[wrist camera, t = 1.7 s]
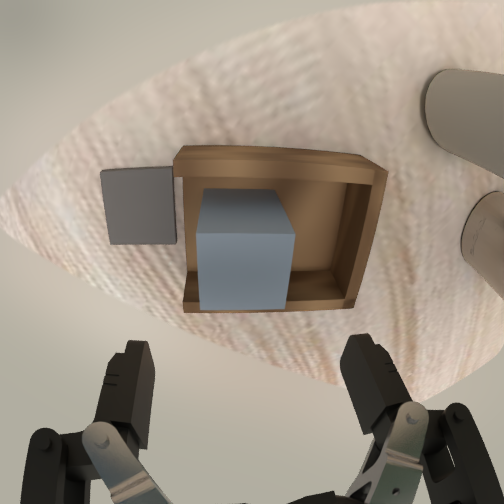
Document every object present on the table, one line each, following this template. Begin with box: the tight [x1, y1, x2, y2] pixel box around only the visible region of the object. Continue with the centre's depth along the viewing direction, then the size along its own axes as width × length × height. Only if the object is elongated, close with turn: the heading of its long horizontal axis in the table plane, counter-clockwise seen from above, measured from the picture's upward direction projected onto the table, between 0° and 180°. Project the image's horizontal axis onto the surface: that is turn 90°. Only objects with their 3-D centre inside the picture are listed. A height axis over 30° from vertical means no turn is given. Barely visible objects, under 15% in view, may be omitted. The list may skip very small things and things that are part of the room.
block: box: [196, 188, 296, 310], centre depth 19 cm, size 5×5×7 cm
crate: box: [173, 145, 388, 313], centre depth 21 cm, size 13×11×4 cm
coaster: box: [100, 166, 177, 245], centre depth 21 cm, size 6×6×1 cm
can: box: [425, 69, 504, 179], centre depth 14 cm, size 8×8×12 cm
